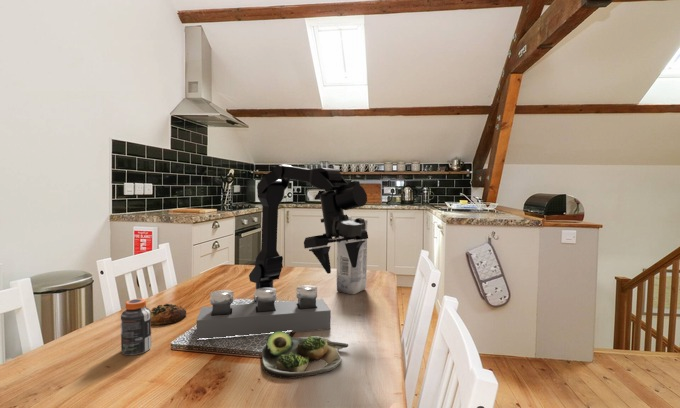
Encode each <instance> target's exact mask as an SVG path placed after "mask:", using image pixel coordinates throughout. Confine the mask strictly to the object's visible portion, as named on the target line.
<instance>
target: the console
mask: <svg viewBox="0 0 680 408" xmlns="http://www.w3.org/2000/svg"><path fill="white" fill-rule="evenodd" d="M331 312H332V311H331V309H330V307H329V306H328V304H327V303H326V302H325V300H324V299H323V298H319V299H317V298H316V308H312V309H299V308H298V300H288V301H287V300H286V301H274V311H271V312H258V313H257V302H255V303H242V304H240V303H239V304H231V315H217V316H213V305H211V306H201V307H200V310H199V313H198V316H197V319H196V340H197V339H199V338H213V337H226V336H235V335H249V334H261V333H270V332H278V331H287V330H293V332H292V333H301V332H303V333H304V332H313V331H324V330H331V319H332V317H331V315H332V314H331Z"/></svg>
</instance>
